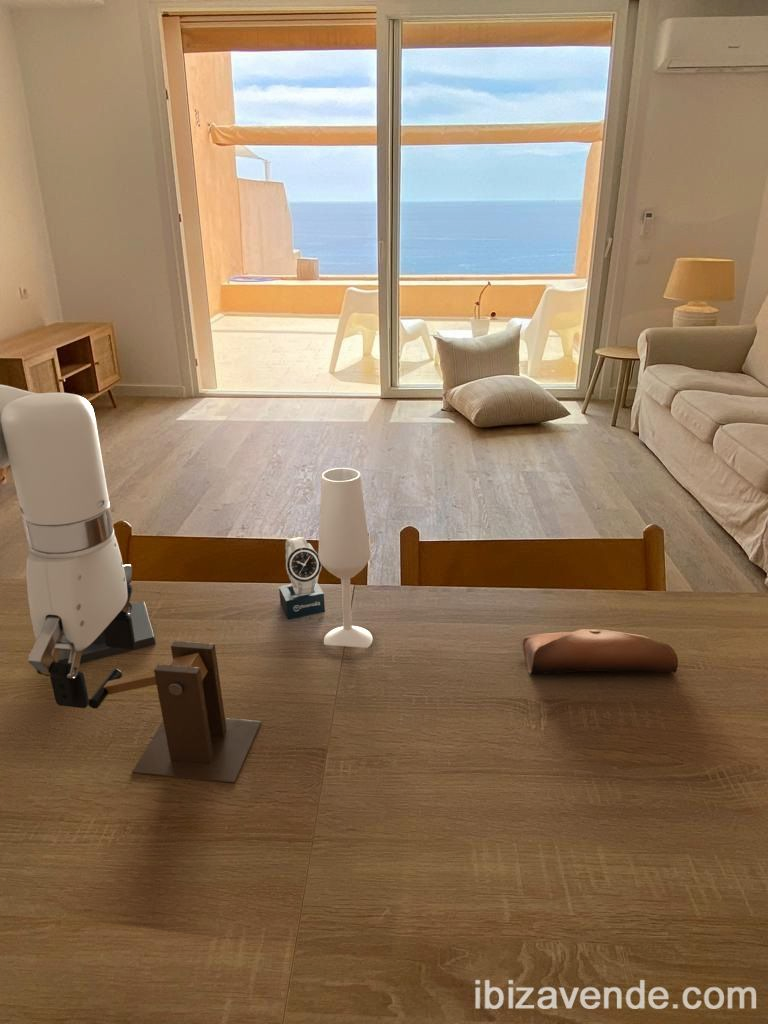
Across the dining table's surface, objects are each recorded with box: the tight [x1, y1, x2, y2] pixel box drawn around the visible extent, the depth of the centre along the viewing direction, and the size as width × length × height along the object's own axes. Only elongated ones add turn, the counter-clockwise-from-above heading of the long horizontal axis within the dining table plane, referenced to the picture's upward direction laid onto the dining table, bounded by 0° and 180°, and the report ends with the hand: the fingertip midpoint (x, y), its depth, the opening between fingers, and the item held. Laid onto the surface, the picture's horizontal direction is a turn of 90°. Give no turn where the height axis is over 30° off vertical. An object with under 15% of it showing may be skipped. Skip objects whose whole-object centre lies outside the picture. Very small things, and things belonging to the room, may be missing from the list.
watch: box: [278, 536, 326, 621], centre depth 99 cm, size 6×8×11 cm
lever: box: [88, 653, 208, 709], centre depth 72 cm, size 12×5×2 cm, turn 81°
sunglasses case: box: [522, 628, 679, 675], centre depth 88 cm, size 18×7×7 cm
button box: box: [58, 600, 157, 665], centre depth 94 cm, size 12×10×4 cm
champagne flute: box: [317, 467, 374, 649], centre depth 89 cm, size 7×7×24 cm
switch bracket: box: [131, 640, 262, 784], centre depth 72 cm, size 11×9×13 cm
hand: (98, 674), depth 72 cm, fingers open, 9 cm apart
